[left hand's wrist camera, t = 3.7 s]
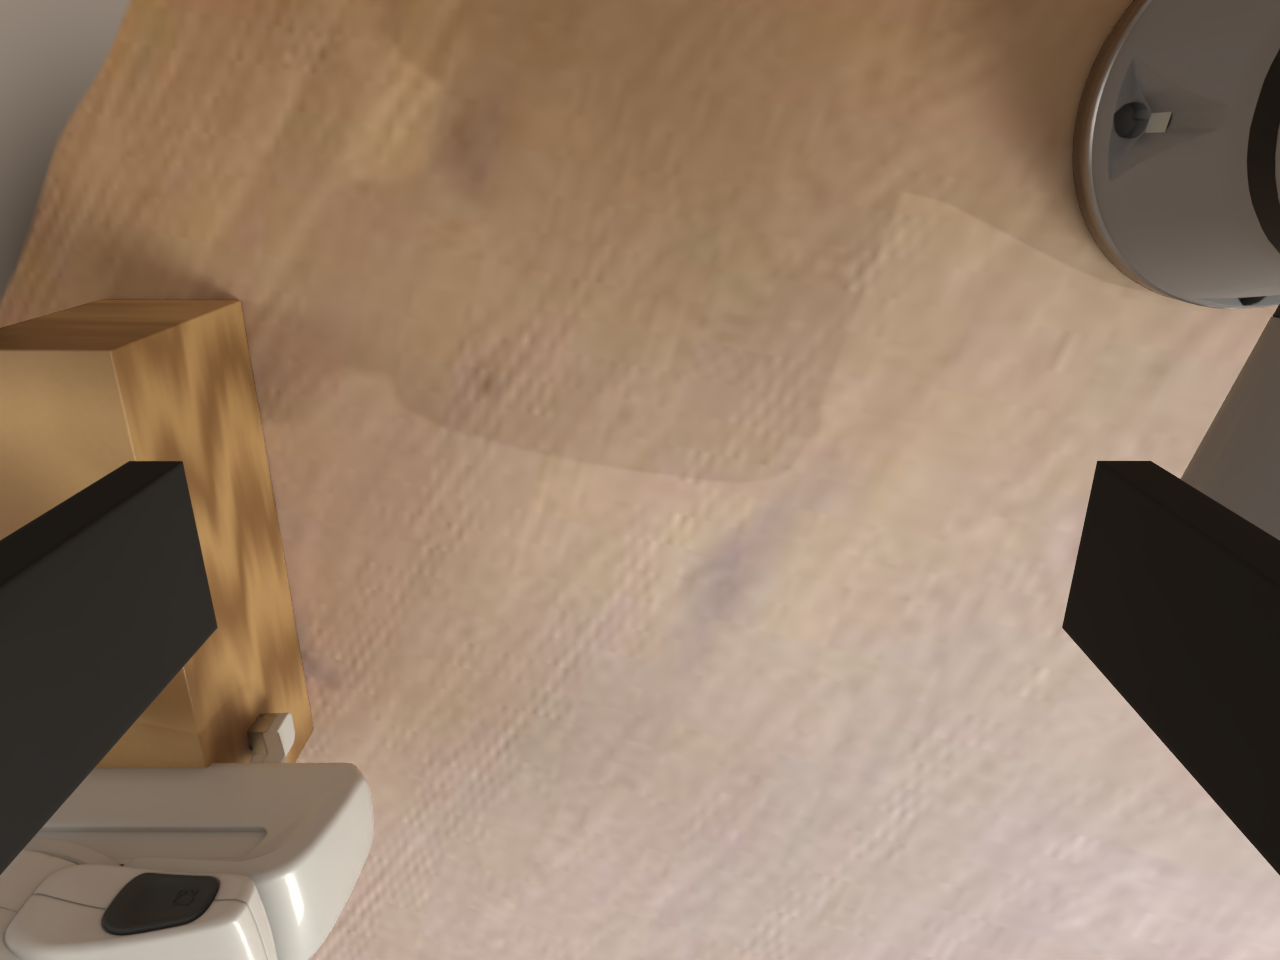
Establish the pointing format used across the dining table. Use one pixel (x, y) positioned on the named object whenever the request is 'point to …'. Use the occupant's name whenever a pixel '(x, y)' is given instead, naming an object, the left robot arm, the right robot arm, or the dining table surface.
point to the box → (217, 481)
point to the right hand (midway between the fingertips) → (200, 723)
